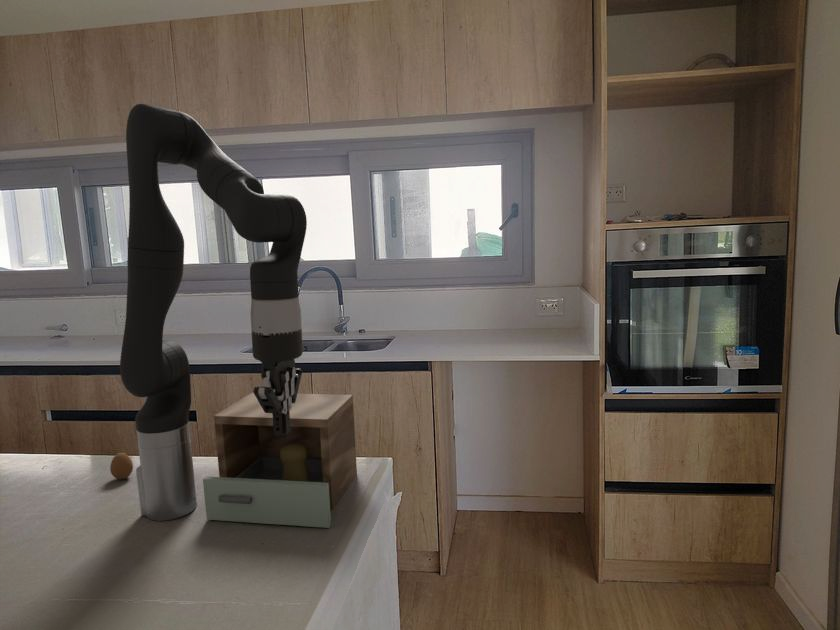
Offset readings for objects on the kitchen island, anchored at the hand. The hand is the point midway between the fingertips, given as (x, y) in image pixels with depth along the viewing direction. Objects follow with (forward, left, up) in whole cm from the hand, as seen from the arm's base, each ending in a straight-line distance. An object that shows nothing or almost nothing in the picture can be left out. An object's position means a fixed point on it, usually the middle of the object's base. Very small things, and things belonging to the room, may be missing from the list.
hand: (282, 434), depth 92 cm
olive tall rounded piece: (-6, +18, -20) cm, 28 cm away
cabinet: (-11, +25, -21) cm, 35 cm away
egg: (-51, +25, -22) cm, 60 cm away
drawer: (-9, +20, -21) cm, 30 cm away
